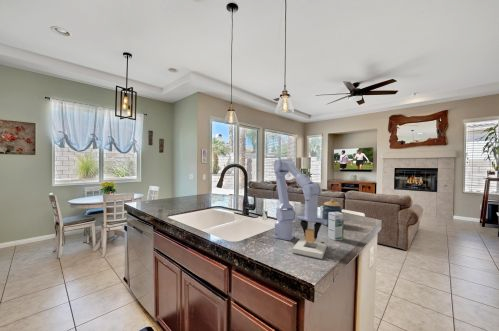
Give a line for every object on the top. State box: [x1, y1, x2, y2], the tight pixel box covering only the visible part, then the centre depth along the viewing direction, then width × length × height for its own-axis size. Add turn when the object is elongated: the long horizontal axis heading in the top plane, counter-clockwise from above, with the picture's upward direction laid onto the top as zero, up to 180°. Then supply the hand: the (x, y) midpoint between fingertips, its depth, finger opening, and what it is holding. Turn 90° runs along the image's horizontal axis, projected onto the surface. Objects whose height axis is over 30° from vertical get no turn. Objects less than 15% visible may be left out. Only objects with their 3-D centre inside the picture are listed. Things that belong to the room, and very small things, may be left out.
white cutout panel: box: [292, 237, 328, 260], centre depth 102 cm, size 13×16×3 cm
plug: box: [304, 227, 318, 243], centre depth 102 cm, size 4×6×6 cm
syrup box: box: [327, 212, 345, 241], centre depth 118 cm, size 6×6×14 cm
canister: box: [321, 198, 343, 227], centre depth 145 cm, size 13×13×18 cm
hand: (310, 237), depth 102 cm, fingers closed on plug, 4 cm apart
